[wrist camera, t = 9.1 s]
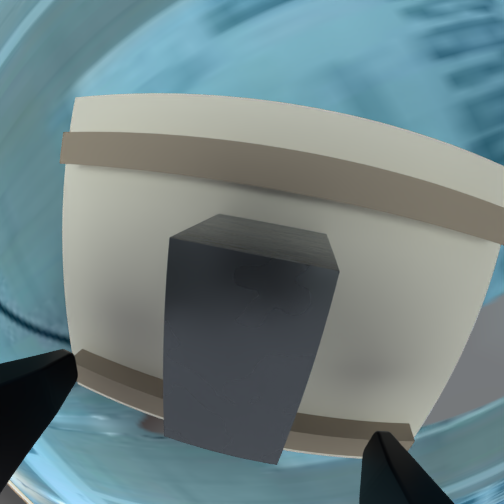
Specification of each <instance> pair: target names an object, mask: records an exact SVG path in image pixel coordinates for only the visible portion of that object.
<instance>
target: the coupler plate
mask: <svg viewBox="0 0 504 504" xmlns="http://www.w3.org/2000/svg"><path fill="white" fill-rule="evenodd" d="M60 164H66V167H65V179H64V195H63V226H62V242H63V273H64V288H65V300H66V311H67V320H68V328H69V335H70V342H71V348H72V353H73V354H74V356H75V359H76V365H77V370H78V378H77V382H78V384H79V385H81V386H83V387H85V388H87V389H89V390H92V391H94V392H96V393H98V394H100V395H102V396H105V397H107V398H109V399H112V400H114V401H116V402H119V403H121V404H123V405H126V406H128V407H131V408H133V409H136V410H138V411H141V412H144V413H146V414H149V415H152V416H155V417H158V418H160V419H163V420H164V413H163V338H164V310H165V290H166V274H167V260H168V248H169V237H171V236H173V235H175V234H177V233H179V232H182V231H184V230H186V229H188V228H190V227H192V226H194V225H196V224H198V223H200V222H202V221H205V220H207V219H209V218H211V217H213V216H215V215H217V214H223V215H229V216H235V217H240V218H246V219H251V220H257V221H262V222H267V223H273V224H278V225H283V226H288V227H294V228H299V229H304V230H309V231H314V232H319V233H324V234H327V237H328V239H329V242H330V245H331V248H332V250H333V253H334V256H335V259H336V262H337V265H338V268H339V271H340V272H339V276H338V280H337V284H336V288H335V292H334V295H333V299H332V303H331V307H330V310H329V314H328V317H327V321H326V324H325V328H324V331H323V335H322V338H321V341H320V345H319V348H318V351H317V354H316V358H315V361H314V364H313V367H312V370H311V373H310V376H309V379H308V382H307V385H306V388H305V391H304V394H303V397H302V400H301V403H300V406H299V408H298V411H297V414H296V417H295V419H294V422H293V425H292V427H291V430H290V433H289V435H288V438H287V441H286V443H285V446H284V448H283V450H287V451H293V452H300V453H307V454H315V455H324V456H334V457H346V458H362V456H363V451H364V448H365V447H366V445H367V443H368V442H369V440H370V439H371V437H372V435H373V434H374V432H376V431H389V432H391V433H392V434H393V436H394V437H395V438H396V439H397V440H398V441H399V442H400V444H401V445H402V446H403V447H404V448H405V449H406V450H407V451H408V450H409V448H410V447H411V446H412V444H413V443H414V441H415V440H414V437H415V435H416V434H417V432H418V431H419V429H420V428H421V426H422V425H423V423H424V422H425V420H426V418H427V417H428V415H429V414H430V412H431V410H432V409H433V407H434V405H435V404H436V402H437V400H438V398H439V397H440V395H441V393H442V391H443V389H444V388H445V386H446V384H447V382H448V380H449V378H450V376H451V375H452V373H453V371H454V369H455V367H456V365H457V363H458V361H459V359H460V356H461V354H462V352H463V350H464V348H465V346H466V343H467V341H468V339H469V337H470V334H471V332H472V330H473V327H474V325H475V322H476V319H477V317H478V315H479V312H480V309H481V307H482V304H483V301H484V299H485V296H486V293H487V290H488V287H489V284H490V281H491V278H492V274H493V271H494V268H495V264H496V261H497V257H498V254H499V250H500V246H501V245H504V166H502V165H500V164H498V163H496V162H493V161H491V160H489V159H486V158H484V157H482V156H479V155H477V154H474V153H472V152H469V151H467V150H464V149H462V148H459V147H456V146H454V145H451V144H448V143H445V142H443V141H440V140H437V139H434V138H431V137H428V136H425V135H422V134H419V133H415V132H412V131H409V130H406V129H402V128H399V127H395V126H392V125H388V124H384V123H381V122H377V121H373V120H369V119H365V118H361V117H357V116H352V115H348V114H343V113H339V112H334V111H329V110H324V109H319V108H313V107H307V106H302V105H295V104H289V103H282V102H275V101H268V100H259V99H251V98H241V97H230V96H217V95H200V94H168V93H147V94H116V95H99V96H87V97H76V98H75V103H74V108H73V114H72V120H71V126H70V132H63V139H62V147H61V156H60Z"/></svg>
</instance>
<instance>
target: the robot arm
mask: <svg viewBox="0 0 504 504" xmlns="http://www.w3.org/2000/svg"><path fill="white" fill-rule="evenodd" d="M77 378H78V370H77V365H76V359H75V356H74V354H73V353H71V352H69V351H67V350H64V349H61V350H57V351H53V352H49V353H44V354H40V355H36V356H32V357H28V358H23V359H19V360H15V361H10V362H6V363H1V364H0V493H1V492H2V490H3V488H4V487H5V486H6V484H7V483H8V481H9V480H10V478H11V477H12V475H13V474H14V472H15V471H16V469H17V468H18V467H19V465H20V464H21V462H22V461H23V459H24V458H25V457H26V455H27V454H28V452H29V451H30V450H31V448H32V447H33V445H34V444H35V443H36V441H37V440H38V439H39V437H40V436H41V434H42V433H43V432H44V430H45V429H46V428H47V426H48V425H49V424H50V422H51V421H52V420H53V418H54V417H55V415H56V414H57V412H58V411H59V409H60V408H61V406H62V404H63V403H64V401H65V399H66V397H67V396H68V394H69V392H70V391H71V389H72V388H73V386H74V384H75V383H76V381H77ZM359 504H454V503H453V502H452V501H451V499H450V498H449V497H448V496H447V495H446V494H445V493H444V492H443V491H442V489H441V488H440V487H439V486H438V485H437V484H436V483H435V482H434V481H433V479H432V478H431V477H430V476H429V475H428V474H427V473H426V472H425V471H424V469H423V468H422V467H421V466H420V465H419V464H418V463H417V462H416V460H415V459H414V458H413V457H412V456H411V455H410V454H409V453H408V451H407V450H406V449H405V448H404V447H403V446H402V445H401V444H400V442H399V441H398V440H397V439H396V438H395V437H394V436H393V434H392V433H391V432H389V431H376V432H374V434H373V435H372V437H371V439H370V440H369V442H368V443H367V445H366V447H365V448H364V451H363V456H362V472H361V485H360V497H359Z"/></svg>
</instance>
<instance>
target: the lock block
mask: <svg viewBox="0 0 504 504" xmlns="http://www.w3.org/2000/svg"><path fill="white" fill-rule="evenodd" d="M339 272H340V271H339V268H338V265H337V262H336V259H335V256H334V253H333V250H332V248H331V245H330V242H329V239H328V237H327V234H324V233H319V232H314V231H309V230H304V229H299V228H294V227H288V226H283V225H278V224H273V223H267V222H262V221H257V220H251V219H246V218H240V217H235V216H229V215H223V214H217V215H215V216H213V217H211V218H209V219H207V220H205V221H202V222H200V223H198V224H196V225H194V226H192V227H190V228H188V229H186V230H184V231H182V232H179V233H177V234H175V235H173V236H171V237H169V248H168V260H167V274H166V290H165V310H164V338H163V413H164V436H166V437H169V438H172V439H175V440H178V441H181V442H184V443H187V444H190V445H194V446H197V447H200V448H204V449H208V450H211V451H215V452H219V453H223V454H227V455H231V456H235V457H240V458H244V459H249V460H254V461H259V462H264V463H269V464H275V465H277V463H278V461H279V458H280V456H281V453H282V451H283V448H284V446H285V443H286V441H287V438H288V435H289V433H290V430H291V427H292V425H293V422H294V419H295V417H296V414H297V411H298V408H299V406H300V403H301V400H302V397H303V394H304V391H305V388H306V385H307V382H308V379H309V376H310V373H311V370H312V367H313V364H314V361H315V358H316V354H317V351H318V348H319V345H320V341H321V338H322V335H323V331H324V328H325V324H326V321H327V317H328V314H329V310H330V307H331V303H332V299H333V295H334V292H335V288H336V284H337V280H338V276H339Z"/></svg>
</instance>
